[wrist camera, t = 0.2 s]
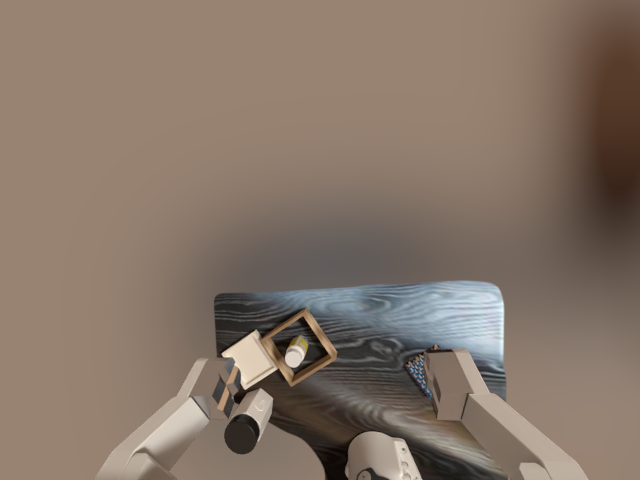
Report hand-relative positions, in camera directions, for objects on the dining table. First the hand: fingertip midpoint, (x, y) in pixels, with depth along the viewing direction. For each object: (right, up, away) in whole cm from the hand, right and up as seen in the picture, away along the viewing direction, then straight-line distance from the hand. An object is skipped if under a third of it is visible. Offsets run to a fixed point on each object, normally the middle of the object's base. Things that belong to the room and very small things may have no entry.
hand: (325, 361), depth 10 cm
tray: (-20, -28, +58) cm, 68 cm away
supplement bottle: (-6, -23, +56) cm, 61 cm away
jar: (-18, -41, +59) cm, 74 cm away
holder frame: (-6, -23, +56) cm, 61 cm away
